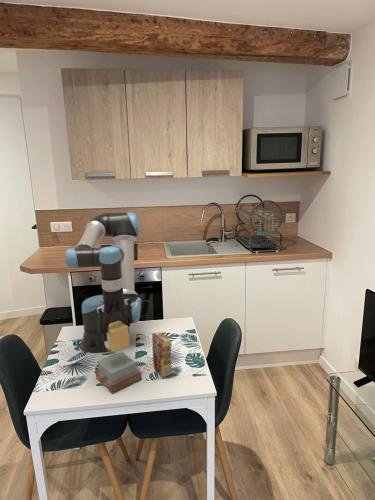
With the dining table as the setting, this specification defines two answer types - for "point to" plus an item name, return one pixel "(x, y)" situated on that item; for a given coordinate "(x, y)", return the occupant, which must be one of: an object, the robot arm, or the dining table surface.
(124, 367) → the top block
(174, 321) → the dining table surface
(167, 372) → the candy box
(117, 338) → the ochre block
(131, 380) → the base block
